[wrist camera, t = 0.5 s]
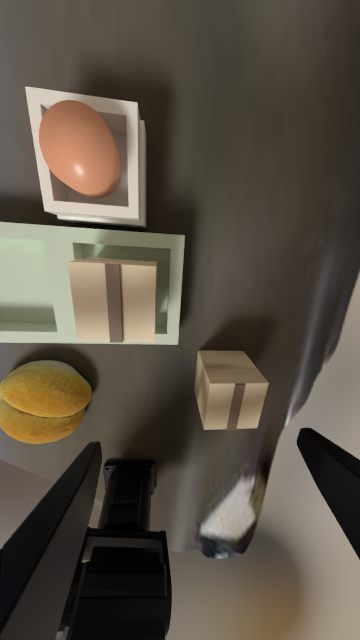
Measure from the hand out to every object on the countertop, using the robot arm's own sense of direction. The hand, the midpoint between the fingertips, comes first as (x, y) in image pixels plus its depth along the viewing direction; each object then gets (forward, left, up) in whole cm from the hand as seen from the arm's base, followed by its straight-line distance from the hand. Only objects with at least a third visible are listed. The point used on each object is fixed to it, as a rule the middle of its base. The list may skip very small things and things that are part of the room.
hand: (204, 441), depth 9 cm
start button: (+12, +6, -8) cm, 16 cm away
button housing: (+12, +6, -12) cm, 18 cm away
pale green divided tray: (+4, +9, -12) cm, 16 cm away
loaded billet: (+4, +5, -12) cm, 13 cm away
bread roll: (-8, +13, -13) cm, 20 cm away
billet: (-5, -5, -12) cm, 14 cm away
